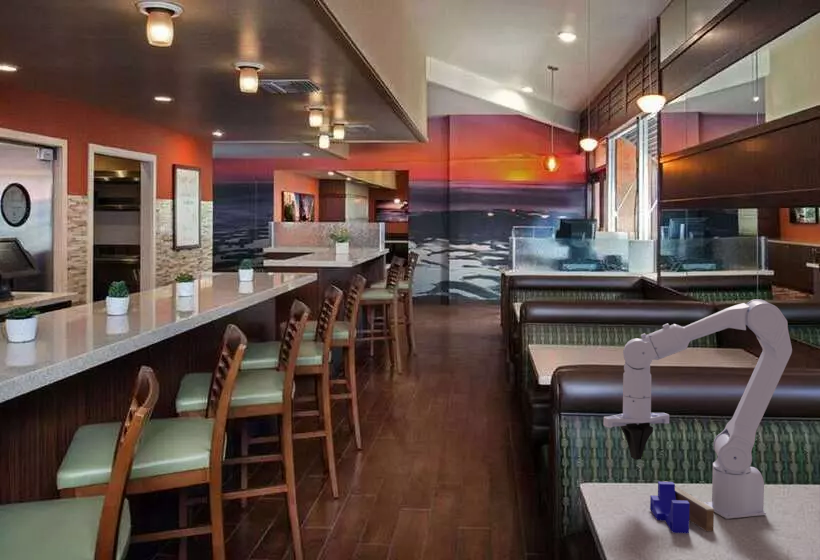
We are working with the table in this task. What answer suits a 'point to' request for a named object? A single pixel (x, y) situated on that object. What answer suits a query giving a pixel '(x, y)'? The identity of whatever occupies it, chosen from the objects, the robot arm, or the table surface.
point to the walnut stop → (697, 510)
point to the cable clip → (670, 508)
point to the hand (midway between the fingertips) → (635, 458)
